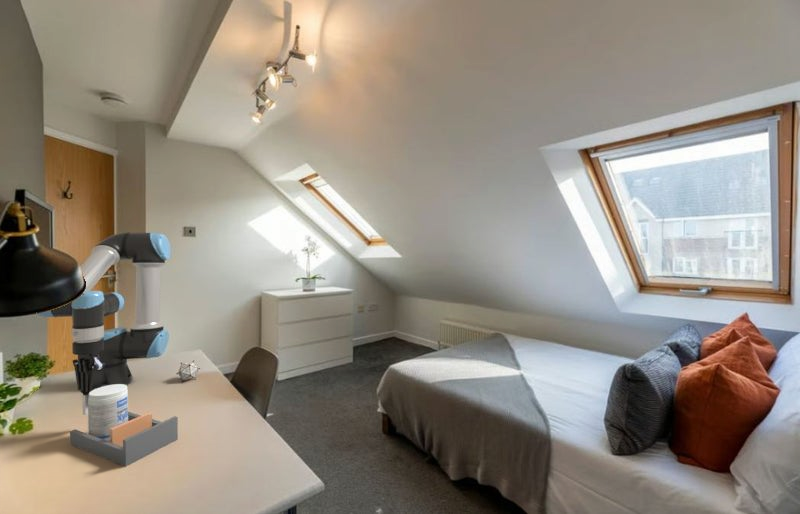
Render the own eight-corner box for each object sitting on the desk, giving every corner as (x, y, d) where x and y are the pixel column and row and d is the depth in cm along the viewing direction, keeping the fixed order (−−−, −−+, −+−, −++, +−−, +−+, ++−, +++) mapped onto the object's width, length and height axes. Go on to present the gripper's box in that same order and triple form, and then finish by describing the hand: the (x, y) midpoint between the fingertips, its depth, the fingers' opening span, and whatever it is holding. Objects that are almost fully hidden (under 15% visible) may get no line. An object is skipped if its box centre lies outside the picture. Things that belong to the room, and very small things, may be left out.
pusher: (110, 453, 99) (109, 428, 99) (149, 434, 109) (149, 412, 109) (119, 456, 98) (119, 432, 98) (158, 437, 108) (158, 415, 108)
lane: (70, 444, 104) (69, 421, 103) (123, 422, 117) (123, 401, 117) (125, 466, 94) (125, 440, 94) (177, 439, 107) (177, 416, 107)
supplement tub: (126, 439, 107) (126, 391, 107) (85, 448, 102) (84, 398, 101) (129, 425, 115) (129, 381, 115) (91, 433, 110) (91, 387, 109)
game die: (182, 389, 153) (167, 372, 152) (198, 376, 161) (183, 359, 159) (193, 383, 149) (177, 365, 148) (208, 369, 157) (193, 352, 155)
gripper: (62, 340, 110) (62, 414, 111) (86, 345, 105) (87, 422, 106) (90, 334, 117) (91, 404, 118) (114, 339, 112) (114, 411, 113)
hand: (89, 412), depth 112 cm, fingers closed
